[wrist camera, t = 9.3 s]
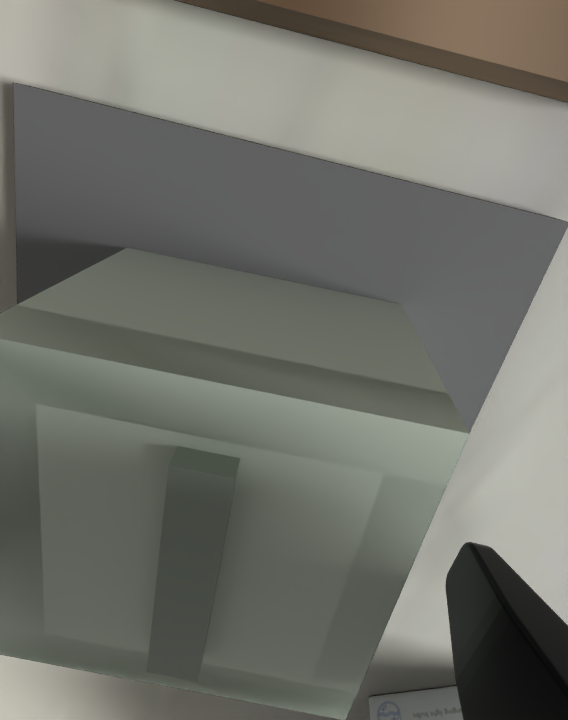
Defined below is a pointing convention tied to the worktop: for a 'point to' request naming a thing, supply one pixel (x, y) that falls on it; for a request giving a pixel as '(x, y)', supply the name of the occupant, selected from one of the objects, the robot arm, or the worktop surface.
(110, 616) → the sage cube with ridge
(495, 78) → the post stand
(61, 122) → the mat
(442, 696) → the light bulb box
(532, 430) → the worktop surface
